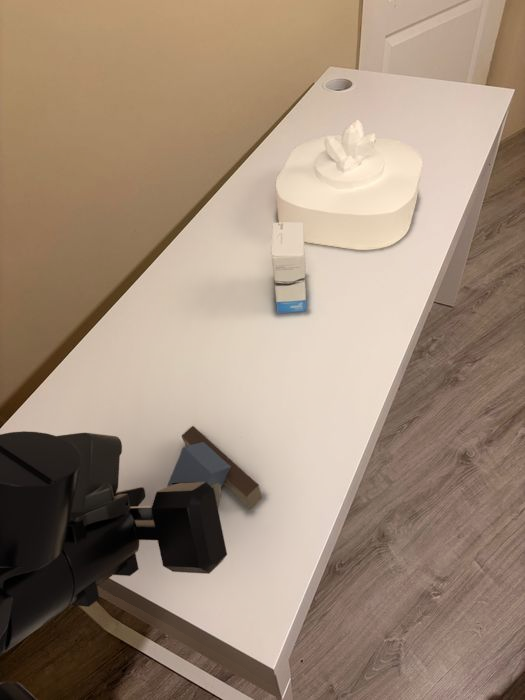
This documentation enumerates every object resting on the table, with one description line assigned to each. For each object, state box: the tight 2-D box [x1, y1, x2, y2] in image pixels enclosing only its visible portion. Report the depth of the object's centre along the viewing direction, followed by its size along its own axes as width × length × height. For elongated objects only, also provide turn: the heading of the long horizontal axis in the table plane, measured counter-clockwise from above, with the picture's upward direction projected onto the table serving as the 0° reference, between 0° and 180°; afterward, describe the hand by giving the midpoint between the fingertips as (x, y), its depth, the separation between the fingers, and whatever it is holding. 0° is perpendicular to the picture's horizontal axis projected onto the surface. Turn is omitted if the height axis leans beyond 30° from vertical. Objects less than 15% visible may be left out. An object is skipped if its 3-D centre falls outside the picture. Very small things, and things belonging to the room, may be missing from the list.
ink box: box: [270, 221, 307, 314], centre depth 78 cm, size 8×5×12 cm, turn 179°
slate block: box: [166, 442, 231, 488], centre depth 59 cm, size 7×5×8 cm
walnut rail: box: [181, 425, 262, 511], centre depth 62 cm, size 2×12×4 cm, turn 46°
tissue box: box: [275, 118, 424, 251], centre depth 90 cm, size 25×25×16 cm
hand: (179, 490), depth 48 cm, fingers open, 9 cm apart
